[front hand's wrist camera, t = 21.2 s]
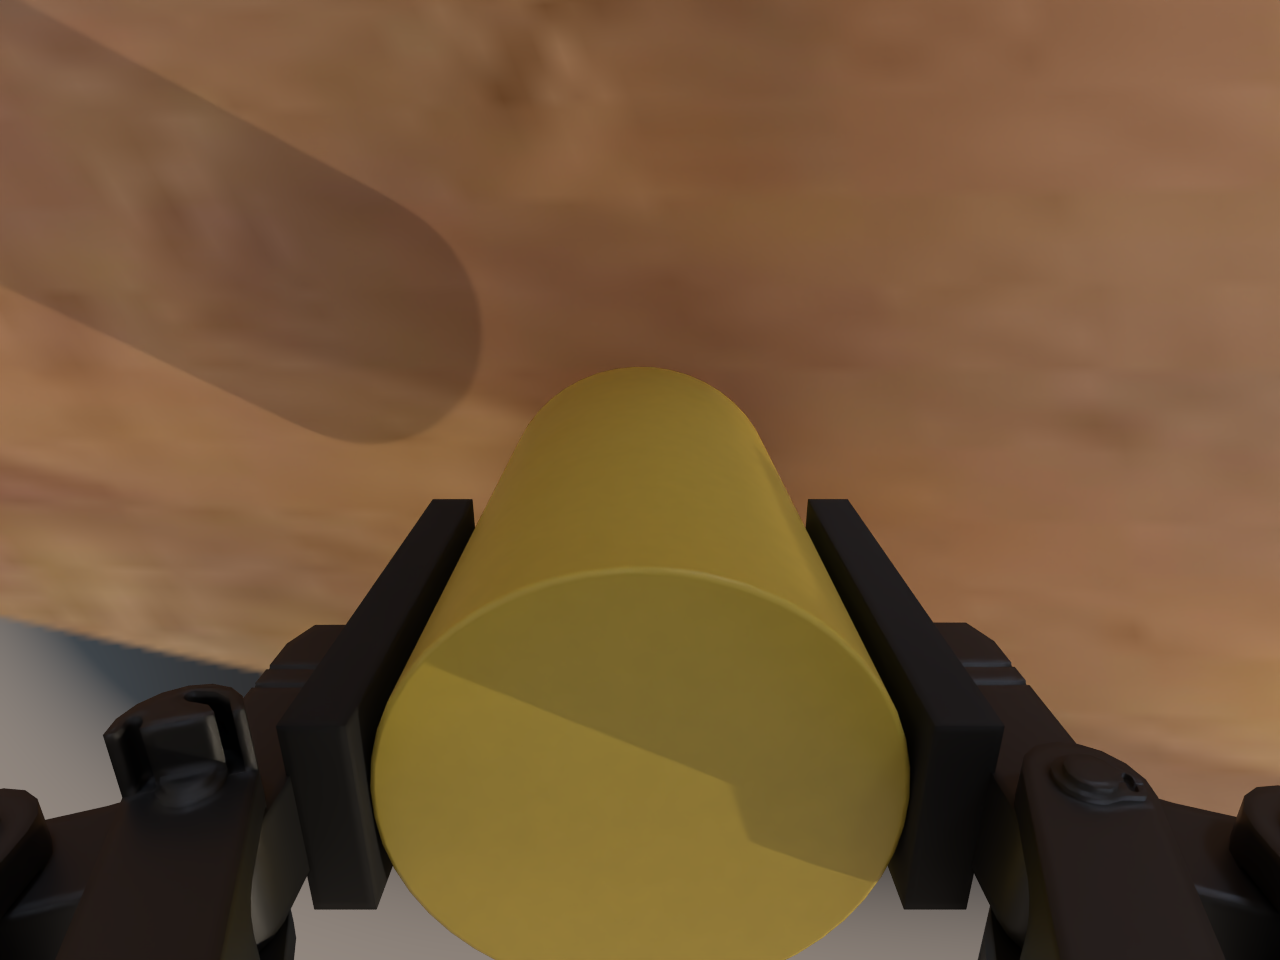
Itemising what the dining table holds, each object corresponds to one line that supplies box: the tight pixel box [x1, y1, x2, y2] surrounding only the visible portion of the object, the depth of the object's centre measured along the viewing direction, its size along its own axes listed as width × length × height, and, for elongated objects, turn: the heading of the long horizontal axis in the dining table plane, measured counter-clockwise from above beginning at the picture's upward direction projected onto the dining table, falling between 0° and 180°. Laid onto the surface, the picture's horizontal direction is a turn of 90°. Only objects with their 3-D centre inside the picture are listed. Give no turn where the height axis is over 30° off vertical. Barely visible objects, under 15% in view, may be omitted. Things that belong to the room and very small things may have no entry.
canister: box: [370, 367, 910, 960], centre depth 13 cm, size 6×6×10 cm
